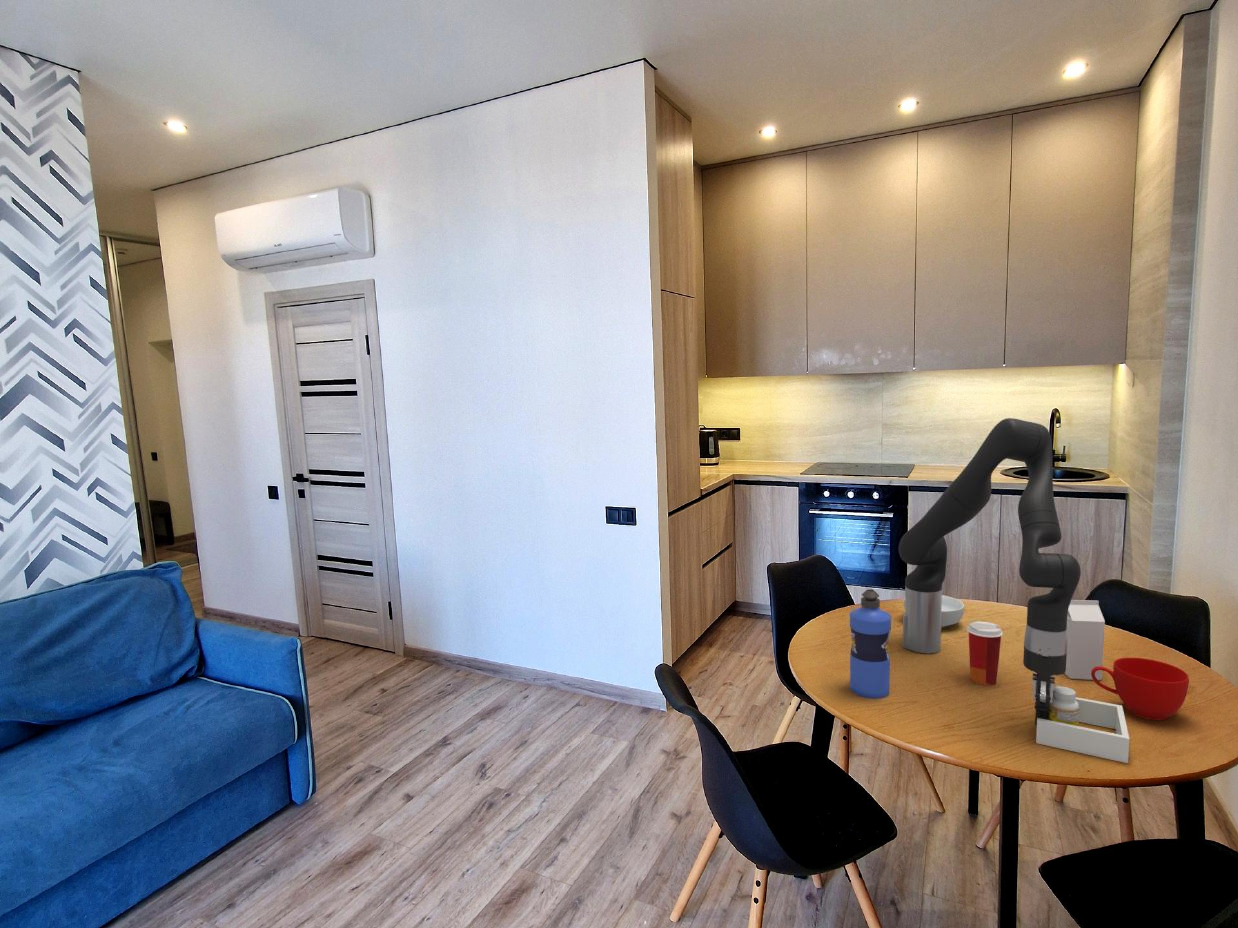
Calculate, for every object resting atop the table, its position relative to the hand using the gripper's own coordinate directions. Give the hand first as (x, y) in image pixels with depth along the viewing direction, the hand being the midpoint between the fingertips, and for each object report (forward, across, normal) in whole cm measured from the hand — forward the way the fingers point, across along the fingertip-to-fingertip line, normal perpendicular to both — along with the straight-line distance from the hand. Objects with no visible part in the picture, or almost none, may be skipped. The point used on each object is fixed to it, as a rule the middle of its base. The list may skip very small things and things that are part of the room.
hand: (1041, 725), depth 141 cm
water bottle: (+2, -2, -35) cm, 35 cm away
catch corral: (+1, -2, +7) cm, 7 cm away
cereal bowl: (+1, -56, -28) cm, 63 cm away
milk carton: (+1, -36, +8) cm, 36 cm away
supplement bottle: (+1, -1, +4) cm, 4 cm away
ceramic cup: (+1, -20, +18) cm, 26 cm away
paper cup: (+1, -20, -12) cm, 24 cm away
